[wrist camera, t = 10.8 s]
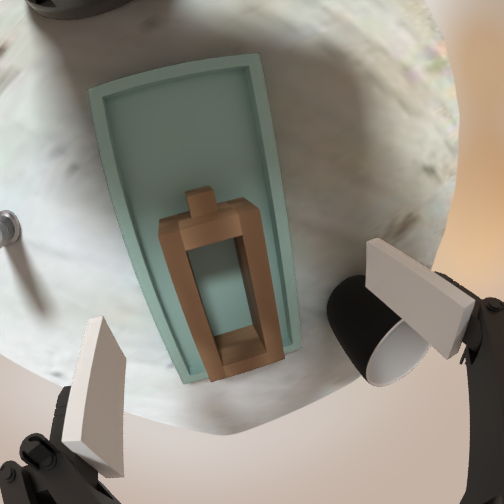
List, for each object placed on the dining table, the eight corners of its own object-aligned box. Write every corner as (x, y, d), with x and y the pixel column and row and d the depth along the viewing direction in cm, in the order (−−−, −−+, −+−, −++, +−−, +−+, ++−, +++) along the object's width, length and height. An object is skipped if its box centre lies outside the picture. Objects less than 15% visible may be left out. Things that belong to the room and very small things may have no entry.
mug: (343, 342, 35) (388, 395, 26) (300, 311, 31) (349, 373, 22) (405, 271, 34) (463, 308, 25) (373, 227, 30) (442, 263, 21)
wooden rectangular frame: (203, 351, 28) (211, 382, 24) (154, 200, 22) (151, 213, 18) (269, 331, 30) (284, 358, 26) (239, 178, 23) (255, 186, 19)
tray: (94, 93, 18) (87, 89, 16) (251, 59, 21) (259, 52, 19) (181, 370, 29) (183, 384, 28) (294, 335, 32) (302, 347, 30)
